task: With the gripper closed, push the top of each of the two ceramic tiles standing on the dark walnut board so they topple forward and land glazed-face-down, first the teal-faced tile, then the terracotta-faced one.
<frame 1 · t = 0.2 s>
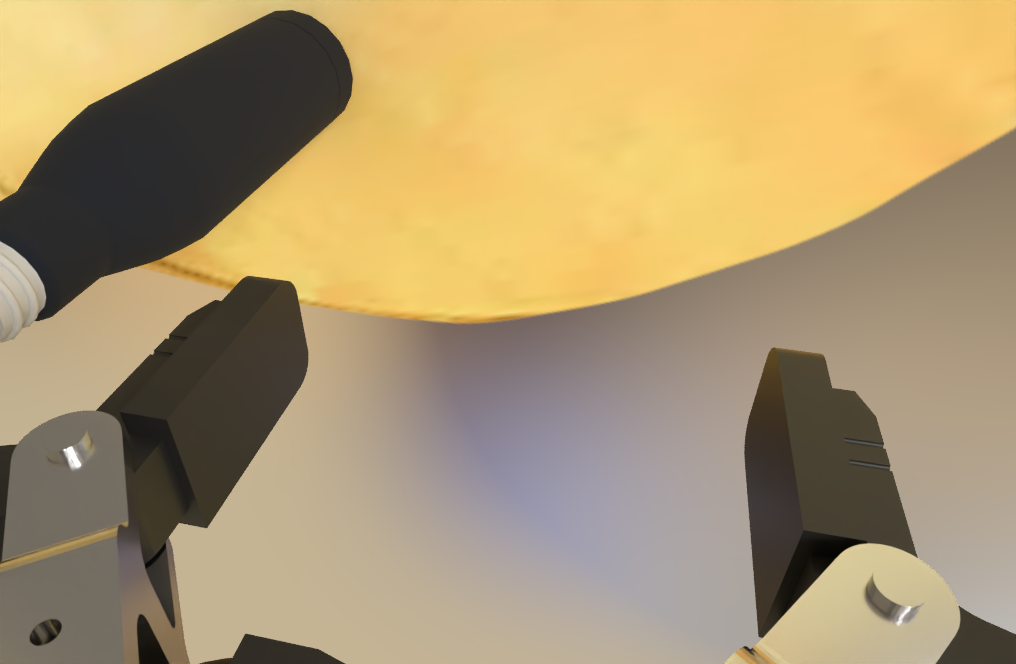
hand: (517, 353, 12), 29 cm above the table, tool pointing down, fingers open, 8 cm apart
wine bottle: (300, 69, 41), on the table
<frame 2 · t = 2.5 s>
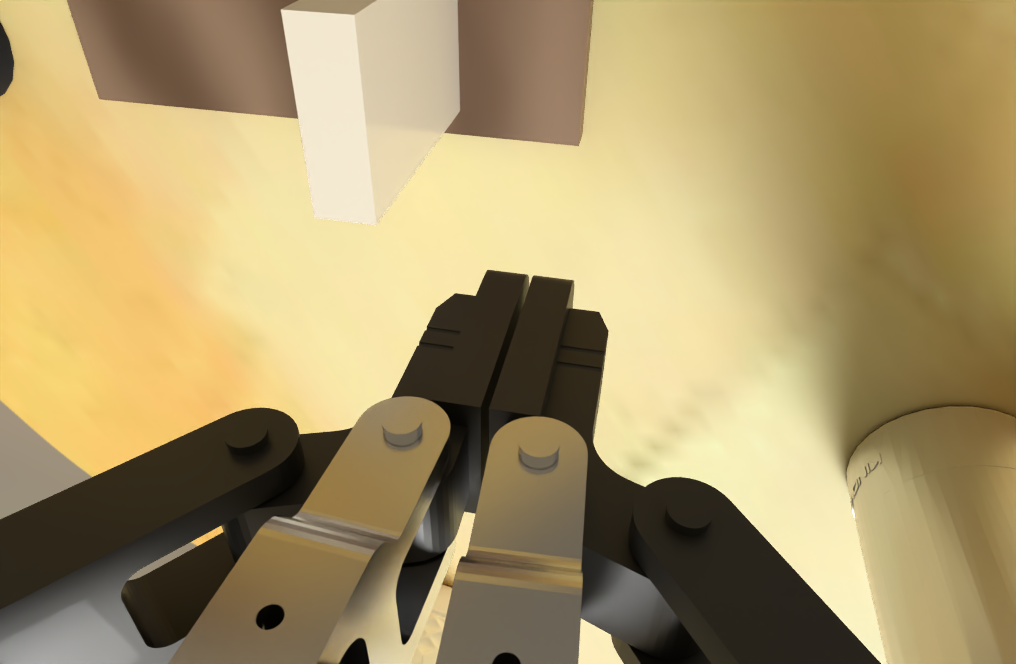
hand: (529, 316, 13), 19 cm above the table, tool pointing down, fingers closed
tile teal: (433, 32, 28), point 1 cm above the table, touching board
white cup: (437, 604, 55), on the table
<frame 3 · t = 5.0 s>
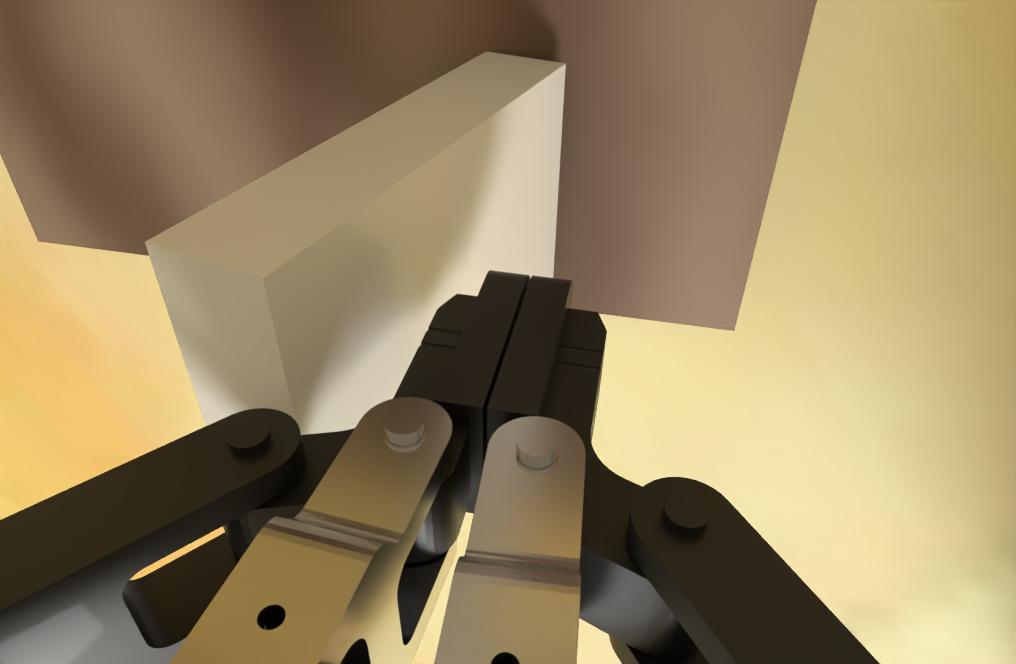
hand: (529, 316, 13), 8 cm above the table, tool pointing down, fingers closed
tile teal: (522, 178, 18), point 1 cm above the table, tilted 14°, touching board
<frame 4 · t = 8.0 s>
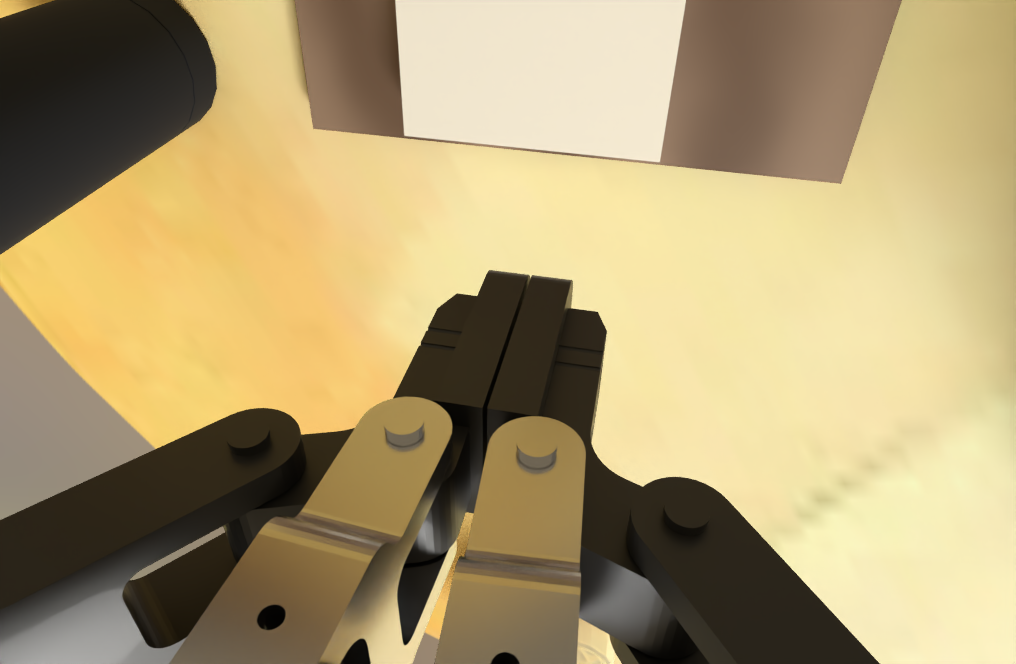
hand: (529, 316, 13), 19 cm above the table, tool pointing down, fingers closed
tile teal: (673, 73, 26), point 2 cm above the table, tilted 90°, touching board
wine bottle: (153, 56, 32), on the table
white cup: (569, 633, 53), on the table
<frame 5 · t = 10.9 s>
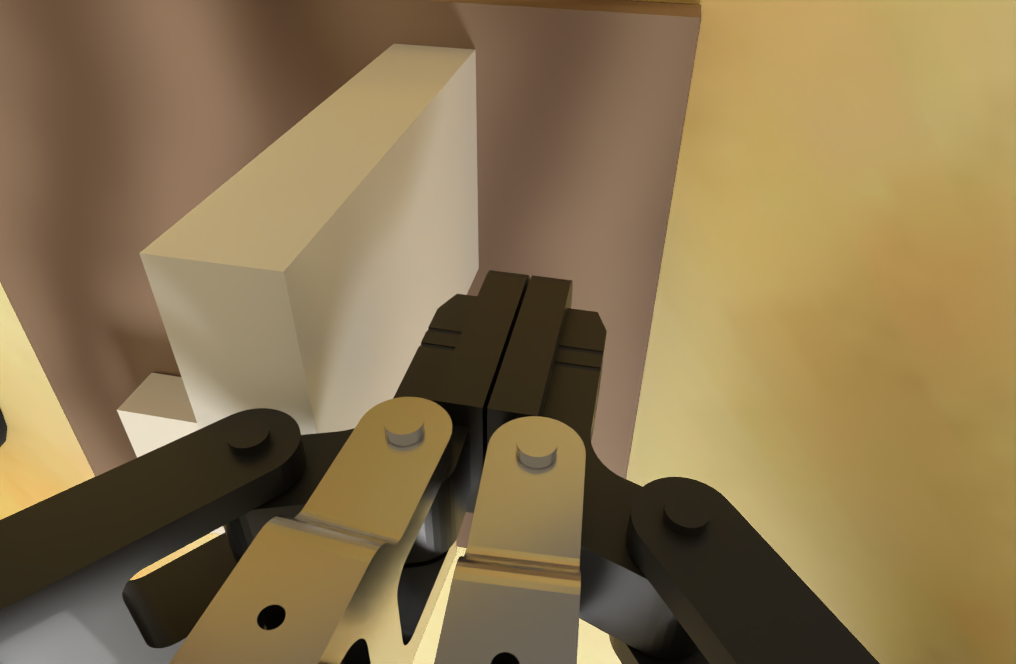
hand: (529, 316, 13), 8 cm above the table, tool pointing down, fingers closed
tile teal: (415, 495, 25), point 2 cm above the table, tilted 90°, touching board
tile terracotta: (440, 165, 19), point 1 cm above the table, touching board, gripper
board: (314, 305, 24), on the table
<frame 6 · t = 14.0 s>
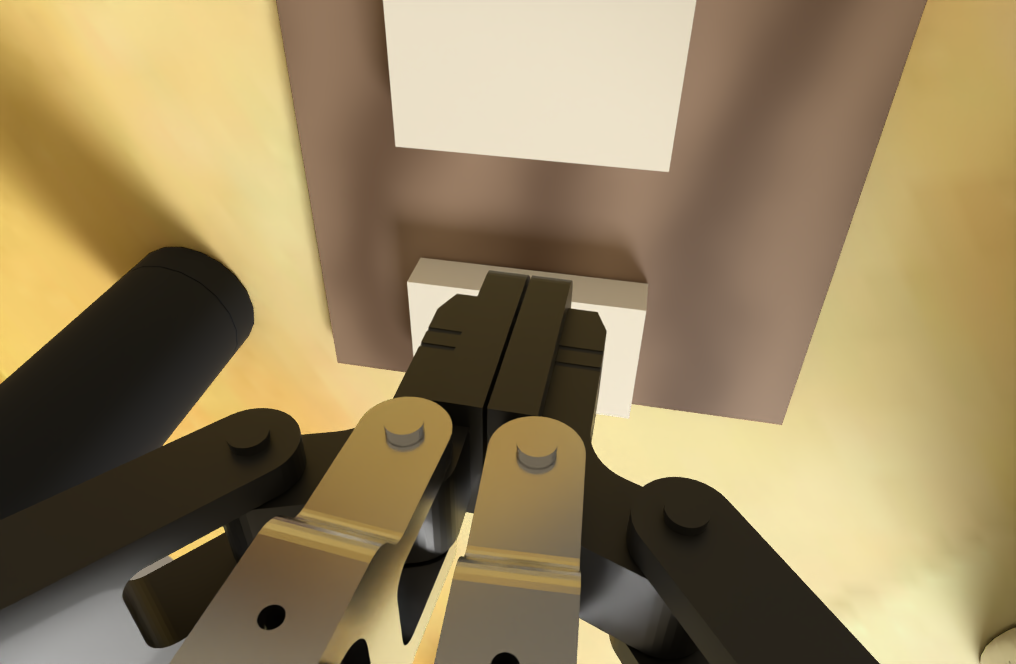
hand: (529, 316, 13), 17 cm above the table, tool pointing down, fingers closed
tile teal: (638, 353, 31), point 2 cm above the table, tilted 90°, touching board
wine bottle: (199, 296, 38), on the table
tile terracotta: (682, 76, 24), point 2 cm above the table, tilted 90°, touching board
board: (565, 196, 30), on the table
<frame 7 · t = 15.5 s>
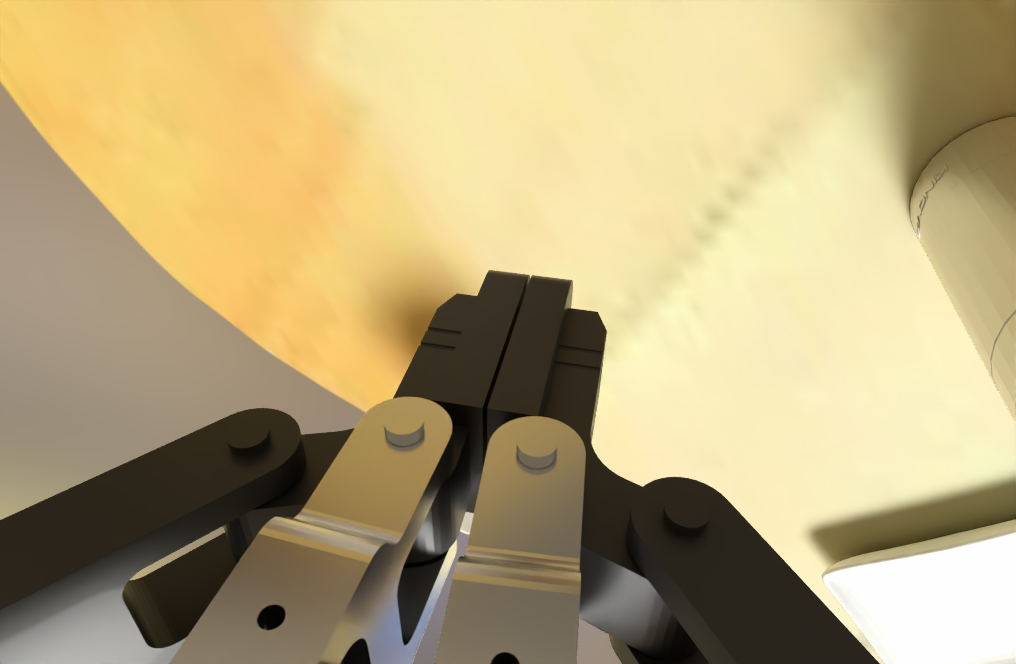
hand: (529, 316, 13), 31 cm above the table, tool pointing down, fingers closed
salad plate: (987, 582, 61), on the table
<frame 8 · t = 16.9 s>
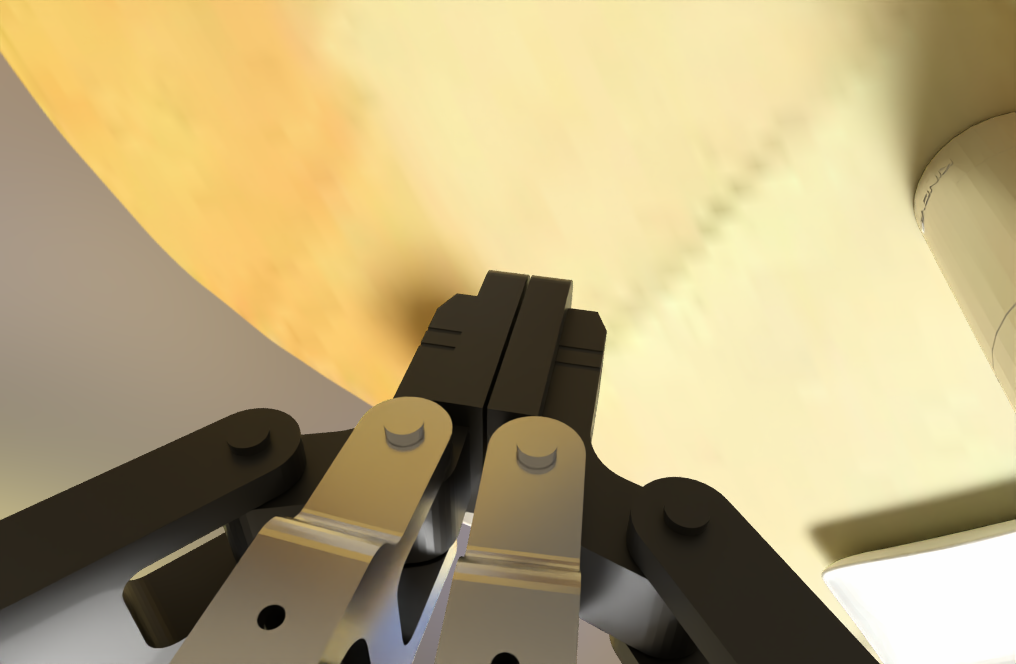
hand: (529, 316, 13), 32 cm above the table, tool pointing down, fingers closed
salad plate: (987, 583, 61), on the table
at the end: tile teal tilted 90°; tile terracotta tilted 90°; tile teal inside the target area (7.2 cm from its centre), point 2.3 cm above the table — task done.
